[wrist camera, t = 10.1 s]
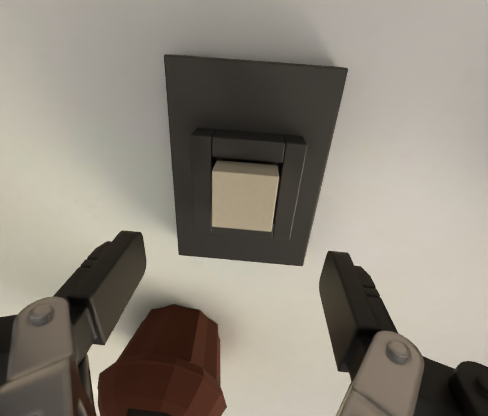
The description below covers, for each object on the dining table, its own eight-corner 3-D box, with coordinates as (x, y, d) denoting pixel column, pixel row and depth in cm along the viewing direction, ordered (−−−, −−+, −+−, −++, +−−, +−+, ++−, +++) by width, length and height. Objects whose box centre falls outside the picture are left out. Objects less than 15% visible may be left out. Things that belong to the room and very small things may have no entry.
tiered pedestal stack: (175, 54, 16) (151, 54, 13) (338, 66, 16) (359, 69, 13) (185, 239, 23) (171, 271, 20) (299, 249, 23) (306, 283, 20)
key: (216, 159, 16) (211, 170, 14) (277, 164, 16) (279, 176, 14) (216, 212, 17) (211, 226, 16) (270, 217, 17) (271, 232, 16)
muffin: (115, 335, 31) (57, 445, 22) (152, 279, 26) (97, 391, 17) (204, 373, 34) (183, 483, 25) (253, 328, 29) (249, 446, 20)
